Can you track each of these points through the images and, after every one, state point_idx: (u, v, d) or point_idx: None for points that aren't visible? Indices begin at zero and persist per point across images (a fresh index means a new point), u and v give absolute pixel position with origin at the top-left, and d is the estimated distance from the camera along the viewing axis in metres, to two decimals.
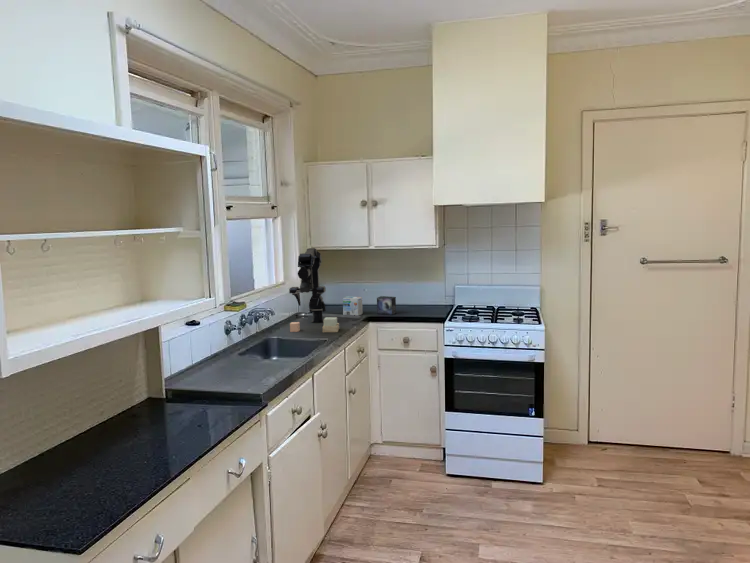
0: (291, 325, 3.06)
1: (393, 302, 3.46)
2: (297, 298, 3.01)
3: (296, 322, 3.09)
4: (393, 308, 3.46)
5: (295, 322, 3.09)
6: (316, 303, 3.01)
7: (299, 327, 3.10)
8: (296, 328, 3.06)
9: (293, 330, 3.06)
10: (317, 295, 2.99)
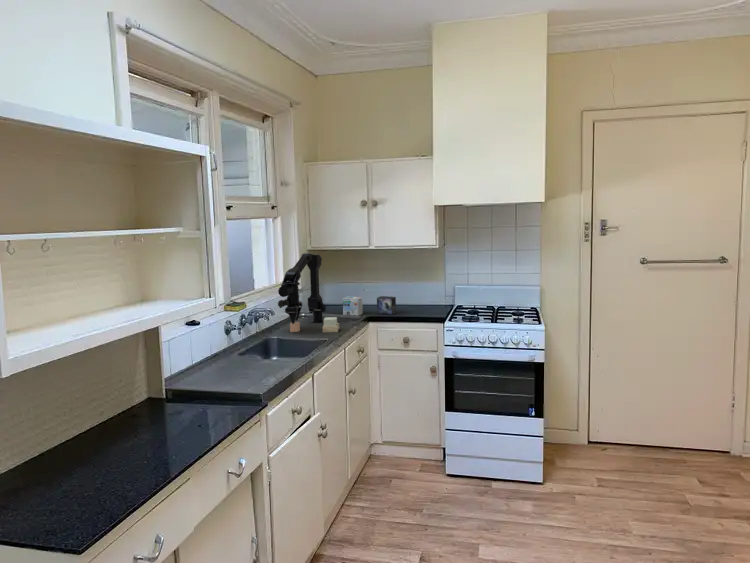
0: (291, 325, 3.06)
1: (393, 302, 3.46)
2: None
3: (296, 322, 3.09)
4: (393, 308, 3.46)
5: (295, 322, 3.09)
6: (291, 321, 3.03)
7: (299, 327, 3.10)
8: (296, 328, 3.06)
9: (293, 330, 3.06)
10: None
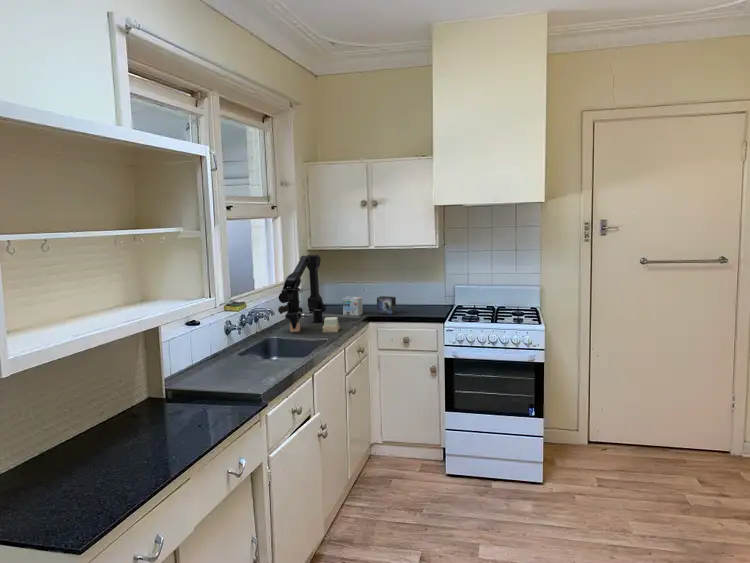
0: (291, 325, 3.06)
1: (393, 302, 3.46)
2: None
3: None
4: (393, 308, 3.46)
5: None
6: (292, 326, 3.06)
7: (299, 327, 3.10)
8: (296, 328, 3.06)
9: (293, 329, 3.06)
10: None
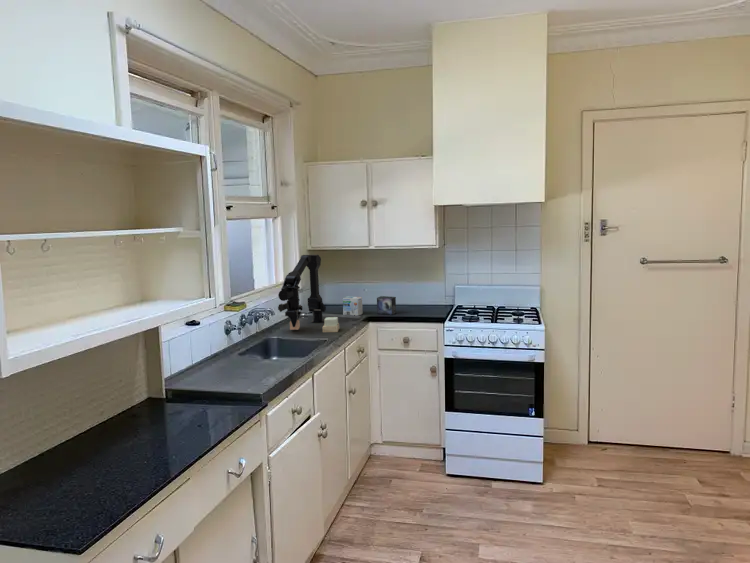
0: (291, 323, 3.06)
1: (393, 302, 3.46)
2: None
3: None
4: (393, 308, 3.46)
5: None
6: (292, 324, 3.06)
7: (299, 325, 3.09)
8: (296, 326, 3.06)
9: (293, 327, 3.06)
10: None
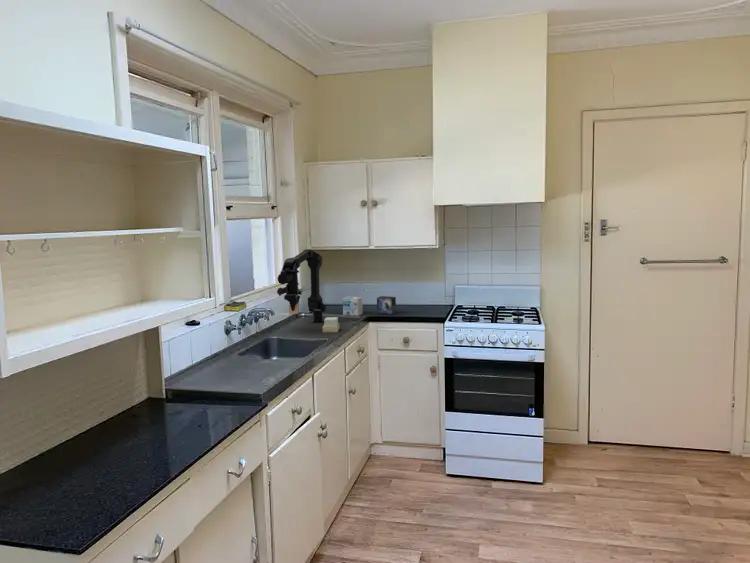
0: (290, 307, 3.04)
1: (393, 302, 3.46)
2: None
3: None
4: (393, 308, 3.46)
5: None
6: (291, 308, 3.04)
7: (298, 309, 3.08)
8: (295, 310, 3.05)
9: (292, 311, 3.05)
10: None
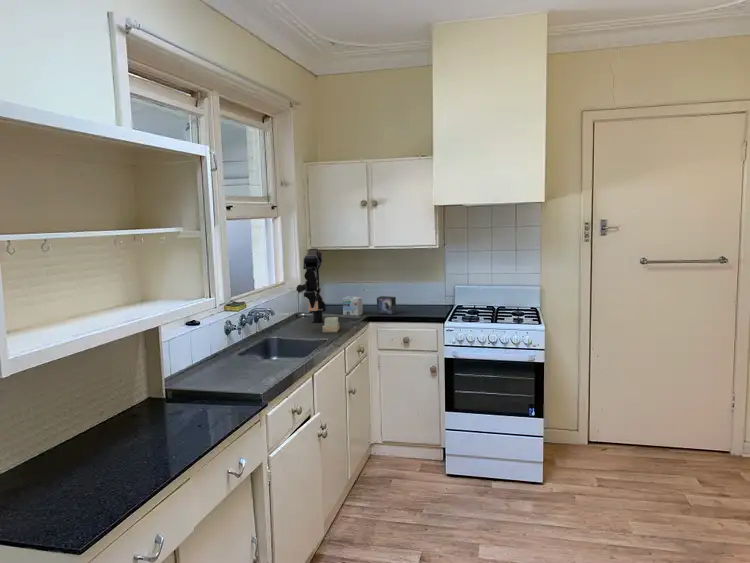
0: (309, 304, 3.03)
1: (393, 302, 3.46)
2: None
3: None
4: (393, 308, 3.46)
5: None
6: None
7: (317, 306, 3.07)
8: (314, 307, 3.03)
9: (312, 308, 3.03)
10: None
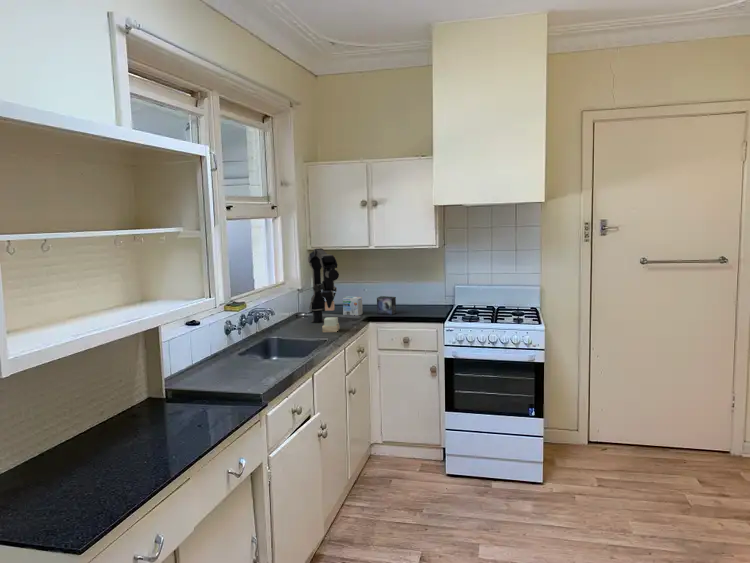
0: (326, 304, 3.02)
1: (393, 302, 3.46)
2: None
3: None
4: (393, 308, 3.46)
5: None
6: (327, 305, 3.02)
7: None
8: (331, 306, 3.02)
9: (328, 308, 3.03)
10: None
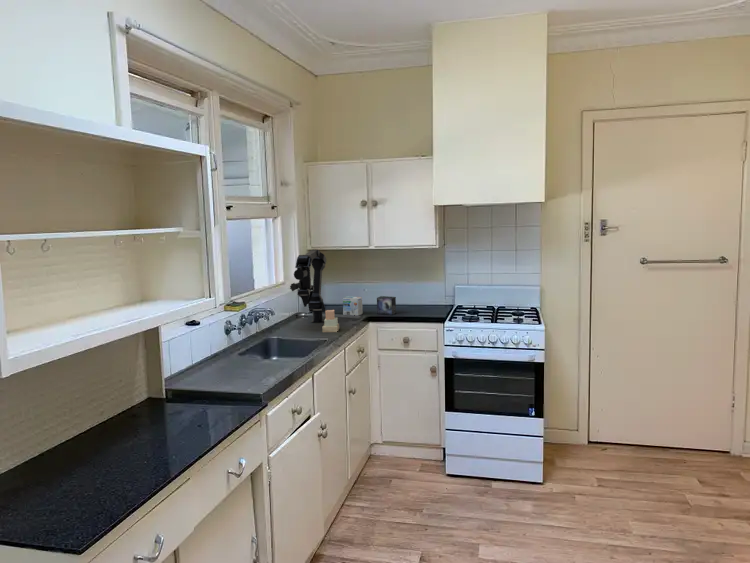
0: (327, 313, 3.03)
1: (393, 302, 3.46)
2: None
3: (331, 310, 3.06)
4: (393, 308, 3.46)
5: (330, 310, 3.06)
6: None
7: (334, 315, 3.07)
8: (332, 315, 3.03)
9: (329, 317, 3.03)
10: None
